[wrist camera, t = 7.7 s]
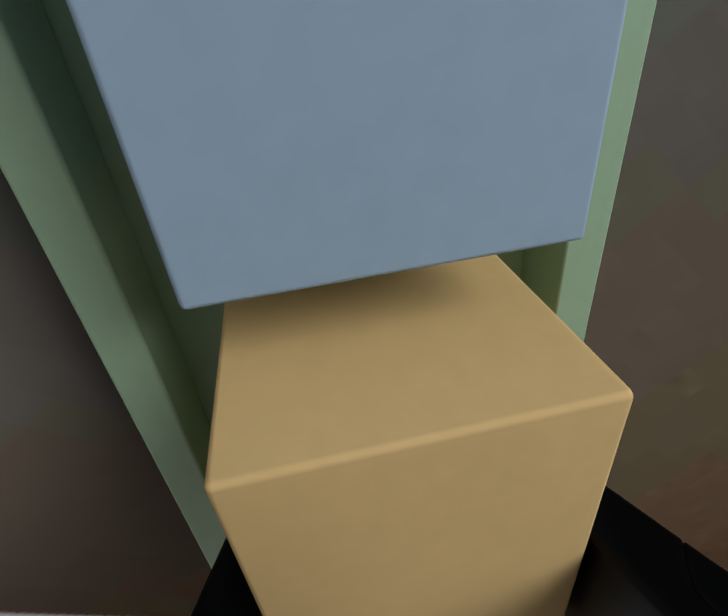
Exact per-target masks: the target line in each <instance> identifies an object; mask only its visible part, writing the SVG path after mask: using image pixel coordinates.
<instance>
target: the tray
mask: <svg viewBox="0 0 728 616" xmlns="http://www.w3.org/2000/svg"><path fill="white" fill-rule="evenodd" d="M656 3H657V0H628V3H627V8H626V14H625V19H624V24H623V30H622V35H621V40H620V46H619V51H618V56H617V62H616V67H615V73H614V78H613V83H612V89H611V94H610V99H609V105H608V110H607V115H606V121H605V126H604V131H603V137H602V142H601V148H600V153H599V158H598V164H597V169H596V174H595V180H594V185H593V190H592V196H591V201H590V206H589V212H588V217H587V223H586V228H585V233H584V236H583V238H581V239H579V240H574V241H569V242H563V243H558V244H552V245H546V246H541V247H535V248H530V249H524V250H518V251H513V252H507V253H502V254H496V255H497V256H498V257H499V258H500V259H501V260H502V261H503V262H504V263H505V264H506V265H507V266H508V267H509V268H510V269H511V270H512V271H513V272H514V273H515V274H516V275H517V276H518V277H519V278H520V279H521V280H522V281H523V282H524V283H525V284H526V285H527V286H528V287H529V288H530V289H531V290H532V291H533V292H534V293H535V294H536V295H537V296H538V297H539V298H540V299H541V300H542V301H543V302H544V303H545V304H546V305H547V306H548V307H549V308H550V309H551V310H552V311H553V312H554V313H555V314H556V315H557V316H558V317H559V318H560V319H561V320H562V321H563V322H564V323H565V324H566V325H567V326H568V327H569V328H570V329H571V330H572V331H573V332H574V333H575V334H576V335H577V336H578V337H579V338H580V339H581V340H582V341H584V337H585V332H586V328H587V323H588V318H589V314H590V309H591V304H592V300H593V295H594V290H595V286H596V281H597V276H598V272H599V267H600V263H601V258H602V253H603V249H604V244H605V239H606V235H607V230H608V225H609V221H610V216H611V212H612V207H613V202H614V198H615V193H616V188H617V184H618V179H619V174H620V170H621V165H622V161H623V156H624V151H625V147H626V142H627V137H628V133H629V128H630V123H631V119H632V114H633V110H634V105H635V100H636V96H637V91H638V86H639V82H640V77H641V72H642V68H643V63H644V59H645V54H646V49H647V45H648V40H649V35H650V31H651V26H652V21H653V17H654V12H655V8H656ZM0 168H1V170H2V172H3V174H4V176H5V178H6V179H7V181H8V183H9V185H10V187H11V189H12V191H13V193H14V195H15V197H16V198H17V200H18V202H19V204H20V206H21V208H22V210H23V212H24V214H25V216H26V217H27V219H28V221H29V223H30V225H31V227H32V229H33V231H34V233H35V235H36V236H37V238H38V240H39V242H40V244H41V246H42V248H43V250H44V252H45V254H46V255H47V257H48V259H49V261H50V263H51V265H52V267H53V269H54V271H55V273H56V274H57V276H58V278H59V280H60V282H61V284H62V286H63V288H64V290H65V292H66V293H67V295H68V297H69V299H70V301H71V303H72V305H73V307H74V309H75V311H76V312H77V314H78V316H79V318H80V320H81V322H82V324H83V326H84V328H85V330H86V331H87V333H88V335H89V337H90V339H91V341H92V343H93V345H94V347H95V349H96V350H97V352H98V354H99V356H100V358H101V360H102V362H103V364H104V366H105V368H106V369H107V371H108V373H109V375H110V377H111V379H112V381H113V383H114V385H115V387H116V388H117V390H118V392H119V394H120V396H121V398H122V400H123V402H124V404H125V406H126V408H127V409H128V411H129V413H130V415H131V417H132V419H133V421H134V423H135V425H136V427H137V428H138V430H139V432H140V434H141V436H142V438H143V440H144V442H145V444H146V446H147V447H148V449H149V451H150V453H151V455H152V457H153V459H154V461H155V463H156V465H157V466H158V468H159V470H160V472H161V474H162V476H163V478H164V480H165V482H166V484H167V485H168V487H169V489H170V491H171V493H172V495H173V497H174V499H175V501H176V503H177V504H178V506H179V508H180V510H181V512H182V514H183V516H184V518H185V520H186V522H187V523H188V525H189V527H190V529H191V531H192V533H193V535H194V537H195V539H196V541H197V542H198V544H199V546H200V548H201V550H202V552H203V554H204V556H205V558H206V560H207V561H208V563H209V565H210V567H211V569H212V567H213V565H214V563H215V561H216V558H217V556H218V554H219V552H220V549H221V547H222V545H223V543H224V540H225V538H226V535H225V533H224V531H223V528H222V526H221V524H220V522H219V520H218V517H217V515H216V513H215V511H214V509H213V507H212V504H211V502H210V500H209V498H208V496H207V493H206V491H205V489H204V484H205V475H206V466H207V457H208V449H209V440H210V431H211V422H212V413H213V404H214V395H215V386H216V377H217V368H218V360H219V351H220V342H221V333H222V324H223V315H224V306H225V303H221V304H216V305H210V306H204V307H199V308H193V309H188V310H187V309H182V307H181V306H180V305H179V303H178V300H177V297H176V294H175V292H174V289H173V286H172V284H171V281H170V278H169V276H168V273H167V270H166V268H165V265H164V262H163V260H162V257H161V254H160V252H159V249H158V246H157V244H156V241H155V238H154V236H153V233H152V230H151V228H150V225H149V222H148V219H147V217H146V214H145V211H144V209H143V206H142V203H141V201H140V198H139V195H138V193H137V190H136V187H135V185H134V182H133V179H132V177H131V174H130V171H129V169H128V166H127V163H126V161H125V158H124V155H123V153H122V150H121V147H120V144H119V142H118V139H117V136H116V134H115V131H114V128H113V126H112V123H111V120H110V118H109V115H108V112H107V110H106V107H105V104H104V102H103V99H102V96H101V94H100V91H99V88H98V86H97V83H96V80H95V78H94V75H93V72H92V69H91V67H90V64H89V61H88V59H87V56H86V53H85V51H84V48H83V45H82V43H81V40H80V37H79V35H78V32H77V29H76V27H75V24H74V21H73V19H72V16H71V13H70V11H69V8H68V5H67V3H66V0H0Z"/></svg>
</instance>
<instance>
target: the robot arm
mask: <svg viewBox="0 0 728 616" xmlns="http://www.w3.org/2000/svg"><path fill="white" fill-rule="evenodd" d="M191 616H262V614H261V611H260V609H259V607H258V605H257V603H256V600H255V598H254V596H253V594H252V592H251V590H250V587H249V585H248V583H247V581H246V579H245V576H244V574H243V572H242V570H241V568H240V566H239V563H238V561H237V559H236V557H235V555H234V552H233V550H232V548H231V546H230V544H229V541H228V539H227V537H226V538H225V540H224V543H223V545H222V547H221V549H220V552H219V554H218V556H217V558H216V561H215V563H214V565H213V567H212V570H211V572H210V574H209V576H208V579H207V581H206V583H205V585H204V587H203V590H202V592H201V594H200V596H199V599H198V601H197V603H196V605H195V608H194V610H193V612H192V614H191ZM565 616H728V572H727V571H726V570H724V569H723V568H722V567H720V566H719V565H717V564H716V563H714V562H713V561H711V560H710V559H708V558H707V557H705V556H704V555H703V554H701V553H700V552H698V551H697V550H696V549H694V548H693V547H691V546H690V545H689V544H687V543H682V540H681V539H680V538H678V537H677V536H676V535H674V534H673V533H671V532H670V531H669V530H667V529H666V528H664V527H663V526H662V525H660V524H659V523H657V522H656V521H655V520H653V519H652V518H650V517H649V516H647V515H646V514H645V513H643V512H642V511H640V510H639V509H638V508H636V507H635V506H633V505H632V504H631V503H629V502H628V501H626V500H625V499H624V498H622V497H621V496H619V495H618V494H617V493H615V492H614V491H612V490H611V489H609V488H608V487H607V486H605V489H604V492H603V495H602V498H601V501H600V504H599V508H598V511H597V514H596V517H595V520H594V523H593V527H592V530H591V533H590V536H589V539H588V542H587V545H586V549H585V552H584V555H583V558H582V561H581V564H580V568H579V571H578V574H577V577H576V580H575V583H574V586H573V590H572V593H571V596H570V599H569V602H568V605H567V609H566V612H565Z"/></svg>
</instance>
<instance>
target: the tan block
mask: <svg viewBox="0 0 728 616" xmlns="http://www.w3.org/2000/svg"><path fill="white" fill-rule="evenodd" d="M632 400H633V393H632V391H631V389H630V388H629V387H628V386H627V385H626V384H625V383H624V382H623V381H622V380H621V379H620V378H619V377H618V376H617V375H616V374H615V373H614V372H613V371H612V370H611V369H610V368H609V367H608V366H607V365H606V364H605V363H604V362H603V361H602V360H601V359H600V358H599V357H598V356H597V355H596V354H595V353H594V352H593V351H592V350H591V349H590V348H589V347H588V346H587V345H586V344H585V343H584V342H583V341H582V340H581V339H580V338H579V337H578V336H577V335H576V334H575V333H574V332H573V331H572V330H571V329H570V328H569V327H568V326H567V325H566V324H565V323H564V322H563V321H562V320H561V319H560V318H559V317H558V316H557V315H556V314H555V313H554V312H553V311H552V310H551V309H550V308H549V307H548V306H547V305H546V304H545V303H544V302H543V301H542V300H541V299H540V298H539V297H538V296H537V295H536V294H535V293H534V292H533V291H532V290H531V289H530V288H529V287H528V286H527V285H526V284H525V283H524V282H523V281H522V280H521V279H520V278H519V277H518V276H517V275H516V274H515V273H514V272H513V271H512V270H511V269H510V268H509V267H508V266H507V265H506V264H505V263H504V262H503V261H502V260H501V259H500V258H499V257H498V256H497V255H490V256H485V257H479V258H474V259H468V260H462V261H457V262H451V263H445V264H440V265H434V266H429V267H423V268H417V269H412V270H406V271H401V272H395V273H389V274H384V275H378V276H373V277H367V278H361V279H356V280H350V281H345V282H339V283H333V284H328V285H322V286H317V287H311V288H305V289H300V290H294V291H288V292H283V293H277V294H272V295H266V296H260V297H255V298H249V299H244V300H238V301H232V302H227V303H225V306H224V315H223V324H222V333H221V342H220V351H219V360H218V368H217V377H216V386H215V395H214V404H213V413H212V422H211V431H210V440H209V449H208V457H207V466H206V475H205V484H204V489H205V491H206V493H207V496H208V498H209V500H210V502H211V504H212V507H213V509H214V511H215V513H216V515H217V517H218V520H219V522H220V524H221V526H222V528H223V531H224V533H225V535H226V537H227V539H228V541H229V544H230V546H231V548H232V550H233V552H234V555H235V557H236V559H237V561H238V563H239V566H240V568H241V570H242V572H243V574H244V576H245V579H246V581H247V583H248V585H249V587H250V590H251V592H252V594H253V596H254V598H255V600H256V603H257V605H258V607H259V609H260V611H261V614H262V616H564V615H565V612H566V609H567V605H568V602H569V599H570V596H571V593H572V590H573V586H574V583H575V580H576V577H577V574H578V571H579V568H580V564H581V561H582V558H583V555H584V552H585V549H586V545H587V542H588V539H589V536H590V533H591V530H592V527H593V523H594V520H595V517H596V514H597V511H598V508H599V504H600V501H601V498H602V495H603V492H604V489H605V485H606V482H607V479H608V476H609V473H610V470H611V467H612V463H613V460H614V457H615V454H616V451H617V448H618V444H619V441H620V438H621V435H622V432H623V429H624V426H625V422H626V419H627V416H628V413H629V410H630V407H631V403H632Z"/></svg>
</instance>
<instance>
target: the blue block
mask: <svg viewBox="0 0 728 616" xmlns="http://www.w3.org/2000/svg"><path fill="white" fill-rule="evenodd" d="M66 3H67V5H68V8H69V11H70V13H71V16H72V19H73V21H74V24H75V27H76V29H77V32H78V35H79V37H80V40H81V43H82V45H83V48H84V51H85V53H86V56H87V59H88V61H89V64H90V67H91V69H92V72H93V75H94V78H95V80H96V83H97V86H98V88H99V91H100V94H101V96H102V99H103V102H104V104H105V107H106V110H107V112H108V115H109V118H110V120H111V123H112V126H113V128H114V131H115V134H116V136H117V139H118V142H119V144H120V147H121V150H122V153H123V155H124V158H125V161H126V163H127V166H128V169H129V171H130V174H131V177H132V179H133V182H134V185H135V187H136V190H137V193H138V195H139V198H140V201H141V203H142V206H143V209H144V211H145V214H146V217H147V219H148V222H149V225H150V228H151V230H152V233H153V236H154V238H155V241H156V244H157V246H158V249H159V252H160V254H161V257H162V260H163V262H164V265H165V268H166V270H167V273H168V276H169V278H170V281H171V284H172V286H173V289H174V292H175V294H176V297H177V300H178V303H179V305H180V306H181V307H182V309H187V310H188V309H193V308H199V307H204V306H210V305H216V304H221V303H227V302H232V301H238V300H244V299H249V298H255V297H260V296H266V295H272V294H277V293H283V292H288V291H294V290H300V289H305V288H311V287H317V286H322V285H328V284H333V283H339V282H345V281H350V280H356V279H361V278H367V277H373V276H378V275H384V274H389V273H395V272H401V271H406V270H412V269H417V268H423V267H429V266H434V265H440V264H445V263H451V262H457V261H462V260H468V259H474V258H479V257H485V256H490V255H496V254H502V253H507V252H513V251H518V250H524V249H530V248H535V247H541V246H546V245H552V244H558V243H563V242H569V241H574V240H579V239H581V238H583V236H584V233H585V228H586V223H587V217H588V212H589V206H590V201H591V196H592V190H593V185H594V180H595V174H596V169H597V164H598V158H599V153H600V148H601V142H602V137H603V131H604V126H605V121H606V115H607V110H608V105H609V99H610V94H611V89H612V83H613V78H614V73H615V67H616V62H617V56H618V51H619V46H620V40H621V35H622V30H623V24H624V19H625V14H626V8H627V3H628V0H66Z"/></svg>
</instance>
